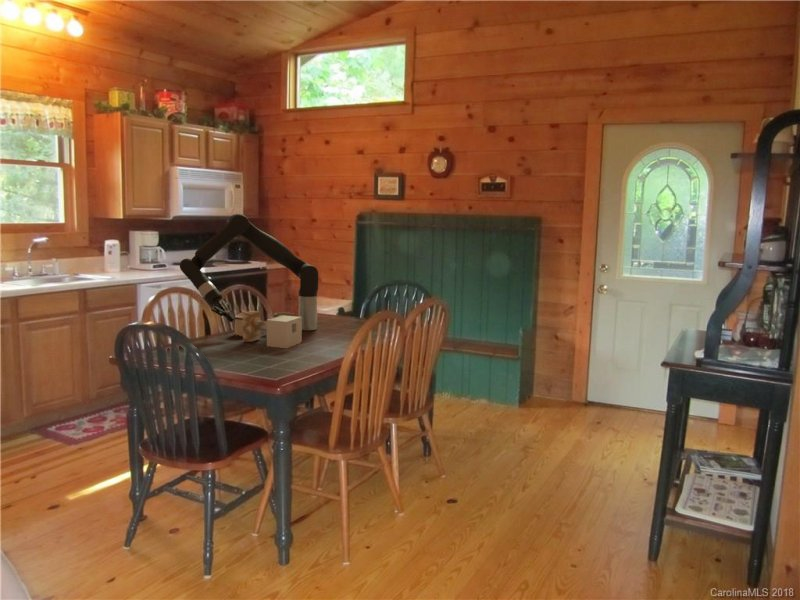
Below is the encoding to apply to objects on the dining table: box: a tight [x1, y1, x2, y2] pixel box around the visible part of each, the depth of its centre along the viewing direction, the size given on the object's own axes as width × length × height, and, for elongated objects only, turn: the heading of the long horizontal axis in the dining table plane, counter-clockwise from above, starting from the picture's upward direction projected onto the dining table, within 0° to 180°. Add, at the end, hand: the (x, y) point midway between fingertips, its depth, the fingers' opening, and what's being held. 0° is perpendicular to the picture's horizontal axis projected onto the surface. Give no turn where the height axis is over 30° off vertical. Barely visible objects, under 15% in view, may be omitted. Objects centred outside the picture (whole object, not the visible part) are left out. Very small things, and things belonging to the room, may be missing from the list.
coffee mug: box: [266, 311, 295, 321], centre depth 322 cm, size 13×10×10 cm
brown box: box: [242, 310, 267, 343], centre depth 301 cm, size 15×8×13 cm, turn 70°
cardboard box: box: [266, 315, 303, 349], centre depth 297 cm, size 10×14×12 cm
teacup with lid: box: [233, 310, 247, 336], centre depth 319 cm, size 12×9×12 cm
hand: (232, 320), depth 306 cm, fingers closed
